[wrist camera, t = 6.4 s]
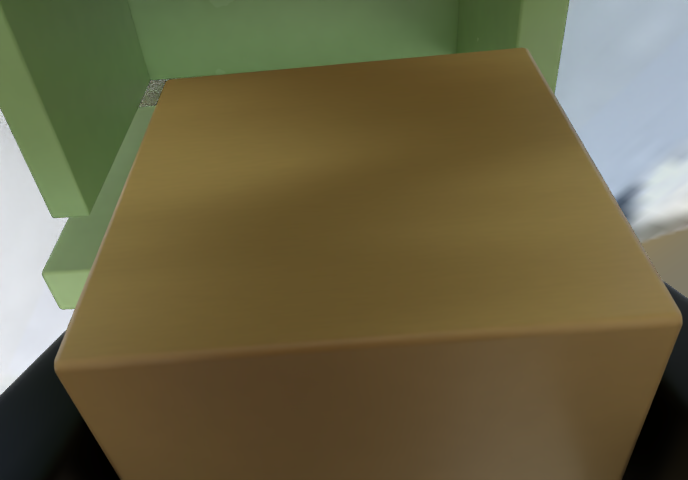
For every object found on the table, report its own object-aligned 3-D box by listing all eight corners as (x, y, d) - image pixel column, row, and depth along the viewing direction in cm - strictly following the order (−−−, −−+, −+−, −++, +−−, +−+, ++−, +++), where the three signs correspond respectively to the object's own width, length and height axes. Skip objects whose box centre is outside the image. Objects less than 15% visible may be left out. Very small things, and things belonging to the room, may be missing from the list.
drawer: (485, 217, 22) (536, 389, 17) (165, 238, 23) (113, 414, 17) (561, -577, 11) (794, -842, 5) (-85, -508, 11) (-477, -694, 6)
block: (528, 44, 8) (690, 319, 4) (500, 300, 10) (584, 584, 7) (163, 77, 8) (46, 368, 4) (234, 321, 11) (194, 609, 7)
